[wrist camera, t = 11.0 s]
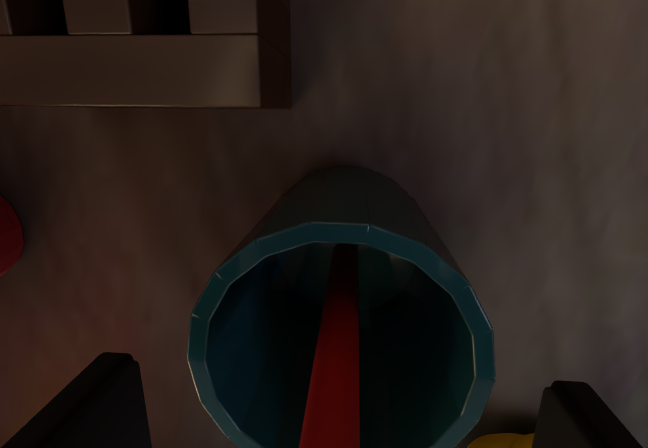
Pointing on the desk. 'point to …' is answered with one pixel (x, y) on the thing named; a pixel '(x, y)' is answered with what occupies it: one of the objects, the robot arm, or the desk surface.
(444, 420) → the tumbler
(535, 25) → the desk surface
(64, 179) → the desk surface
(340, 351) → the straw
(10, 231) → the plastic cup
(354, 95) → the desk surface
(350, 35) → the desk surface
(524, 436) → the duckling
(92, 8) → the straw stand
